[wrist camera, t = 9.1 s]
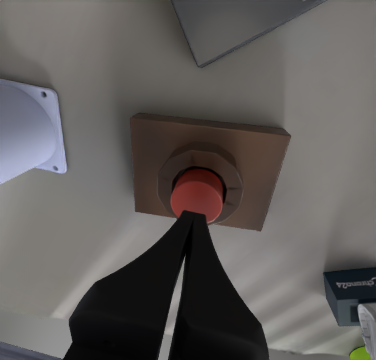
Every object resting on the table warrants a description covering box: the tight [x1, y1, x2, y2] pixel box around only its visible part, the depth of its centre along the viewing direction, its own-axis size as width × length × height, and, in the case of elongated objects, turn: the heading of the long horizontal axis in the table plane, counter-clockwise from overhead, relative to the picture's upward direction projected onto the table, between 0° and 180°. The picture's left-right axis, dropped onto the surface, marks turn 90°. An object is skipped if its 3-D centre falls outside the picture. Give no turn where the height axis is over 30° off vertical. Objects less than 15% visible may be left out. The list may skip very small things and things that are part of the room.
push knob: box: [170, 169, 223, 223], centre depth 15 cm, size 4×4×2 cm
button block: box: [130, 113, 291, 231], centre depth 18 cm, size 12×9×4 cm
